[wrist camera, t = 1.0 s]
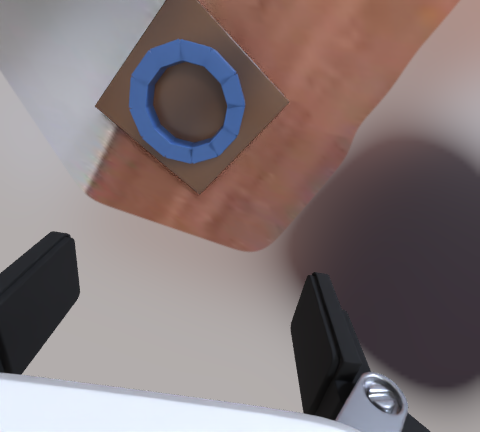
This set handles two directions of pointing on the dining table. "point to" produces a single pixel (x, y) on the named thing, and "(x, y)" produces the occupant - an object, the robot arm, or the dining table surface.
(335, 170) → the dining table surface
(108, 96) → the platform
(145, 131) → the ring
